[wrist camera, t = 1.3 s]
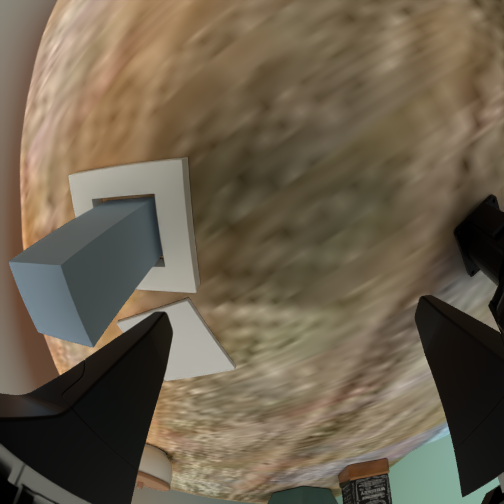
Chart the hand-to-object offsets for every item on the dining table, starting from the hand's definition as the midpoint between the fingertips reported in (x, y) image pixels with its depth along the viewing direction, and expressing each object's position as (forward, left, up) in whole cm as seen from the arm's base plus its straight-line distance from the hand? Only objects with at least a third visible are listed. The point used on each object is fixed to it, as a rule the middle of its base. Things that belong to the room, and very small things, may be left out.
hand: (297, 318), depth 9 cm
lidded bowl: (-23, +54, -13) cm, 61 cm away
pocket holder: (+7, +10, -13) cm, 18 cm away
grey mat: (-4, +18, -13) cm, 23 cm away
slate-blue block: (+7, +10, -13) cm, 18 cm away
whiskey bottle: (-61, +22, -13) cm, 66 cm away
